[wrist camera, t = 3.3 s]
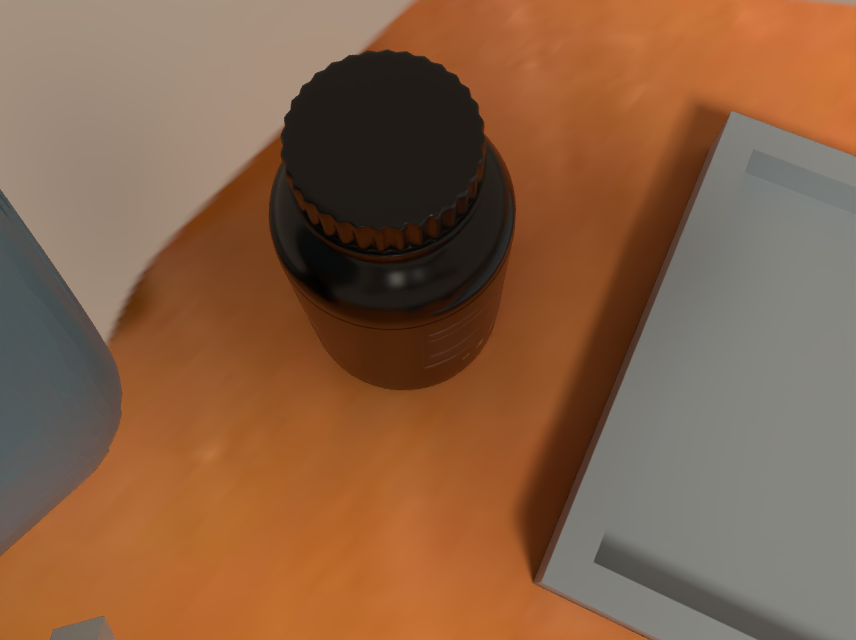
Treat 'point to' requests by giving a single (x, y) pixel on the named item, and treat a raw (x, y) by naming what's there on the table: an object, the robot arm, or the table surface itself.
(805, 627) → the tray
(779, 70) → the table surface
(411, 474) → the table surface
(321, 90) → the supplement bottle
